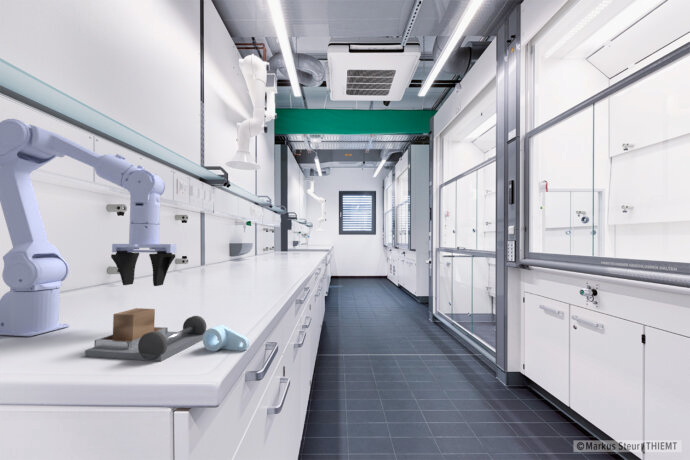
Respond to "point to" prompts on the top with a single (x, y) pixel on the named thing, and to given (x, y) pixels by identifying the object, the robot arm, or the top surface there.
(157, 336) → the chassis
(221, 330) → the mechanical part
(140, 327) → the block
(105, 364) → the top surface
